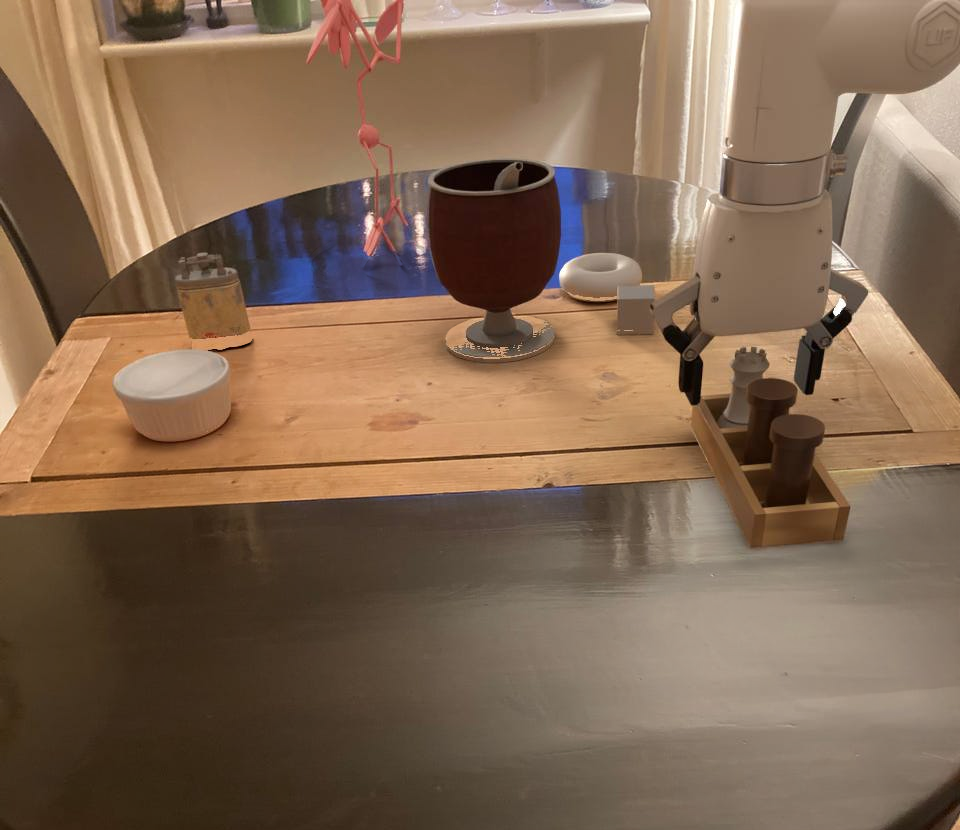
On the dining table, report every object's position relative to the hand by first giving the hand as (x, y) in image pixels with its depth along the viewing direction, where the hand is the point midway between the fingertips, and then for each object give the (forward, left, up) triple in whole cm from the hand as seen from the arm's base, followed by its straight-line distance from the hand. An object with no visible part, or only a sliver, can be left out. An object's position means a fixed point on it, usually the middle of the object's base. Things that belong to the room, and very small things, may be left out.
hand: (747, 393), depth 81 cm
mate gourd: (+19, -28, -5) cm, 34 cm away
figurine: (+36, -62, -5) cm, 72 cm away
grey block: (+4, -29, -5) cm, 29 cm away
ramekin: (+52, -15, -5) cm, 54 cm away
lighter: (+51, -34, -5) cm, 62 cm away
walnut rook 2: (0, +13, -5) cm, 13 cm away
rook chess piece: (0, 0, -5) cm, 5 cm away
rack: (0, +6, -5) cm, 8 cm away
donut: (+6, -41, -5) cm, 42 cm away
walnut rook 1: (0, +6, -5) cm, 8 cm away
